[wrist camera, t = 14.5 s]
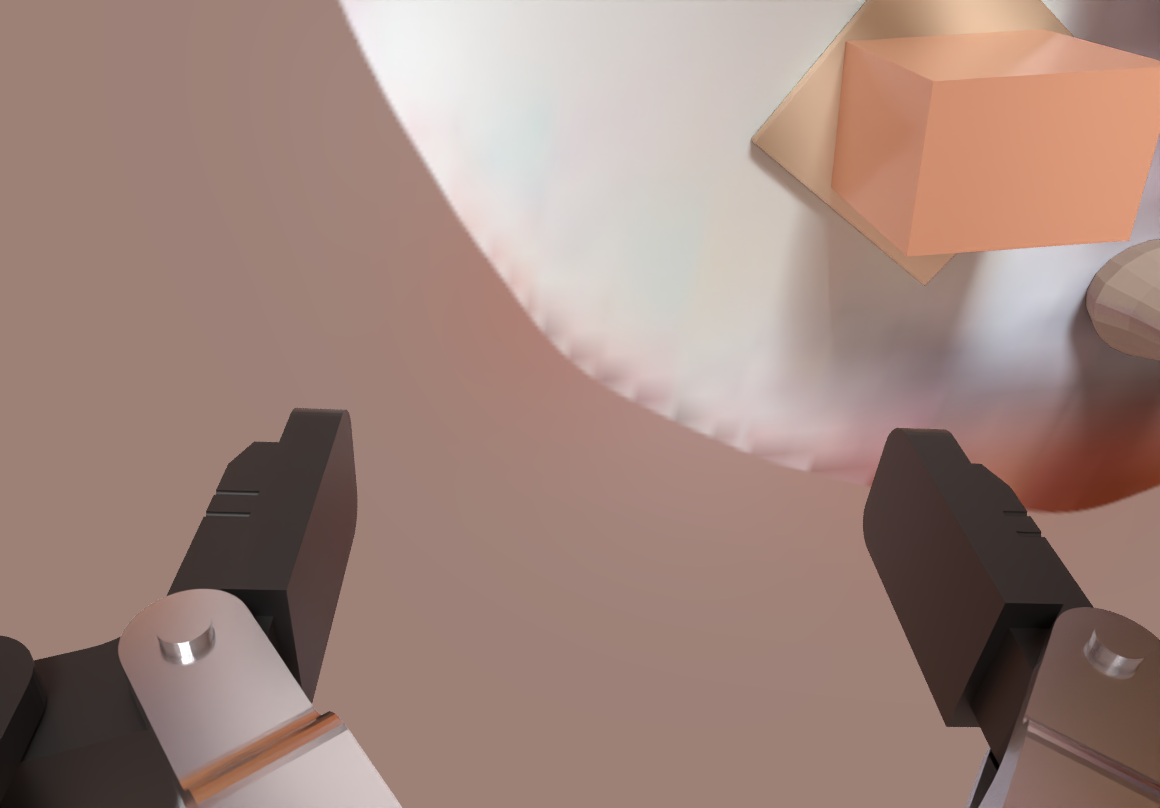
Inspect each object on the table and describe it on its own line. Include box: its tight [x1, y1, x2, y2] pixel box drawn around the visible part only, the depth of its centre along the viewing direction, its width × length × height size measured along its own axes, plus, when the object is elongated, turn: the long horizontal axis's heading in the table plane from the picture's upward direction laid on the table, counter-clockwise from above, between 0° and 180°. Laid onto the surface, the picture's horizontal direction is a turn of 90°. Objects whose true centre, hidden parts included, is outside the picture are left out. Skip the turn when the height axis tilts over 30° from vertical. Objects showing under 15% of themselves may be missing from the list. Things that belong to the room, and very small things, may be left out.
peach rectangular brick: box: [831, 29, 1160, 257], centre depth 31 cm, size 7×5×8 cm
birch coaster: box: [751, 0, 1074, 286], centre depth 34 cm, size 10×10×1 cm
